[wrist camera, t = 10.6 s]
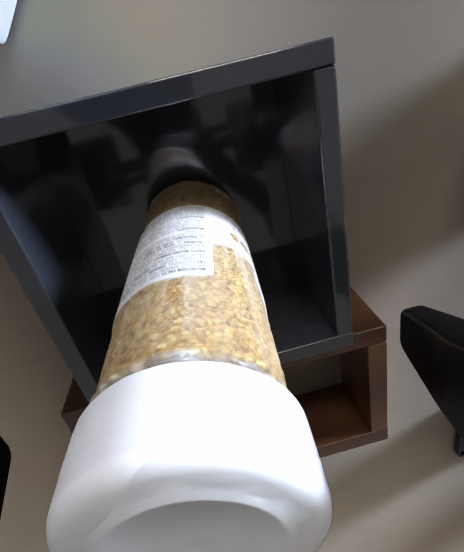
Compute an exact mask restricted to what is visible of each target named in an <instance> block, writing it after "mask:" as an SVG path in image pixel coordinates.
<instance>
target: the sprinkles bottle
mask: <svg viewBox="0 0 464 552" xmlns="http://www.w3.org/2000/svg"><path fill="white" fill-rule="evenodd" d="M144 228H145V230H144V232H143V233H142V235H141V237H140V240H139V243H138V246H137V249H136V252H135V255H134V258H133V261H132V264H131V267H130V271H129V274H128V277H127V280H126V283H125V287H124V290H123V293H122V297H121V300H120V303H119V306H118V310H117V313H116V316H115V320H114V323H113V327H112V338H111V341H110V345H109V348H108V351H107V354H106V358H105V361H104V365H103V368H102V371H101V376H100V380H99V383H98V386H97V391H96V393H95V394H94V395H93V397H92V398H91V399H90V404H89V405H88V406H87V408H86V409H85V410H84V412H83V413H82V415H81V416H80V417H79V419H78V422H77V424H76V426H75V429H74V431H73V434H72V437H71V440H70V443H69V446H68V449H67V452H66V455H65V459H64V462H63V465H62V468H61V471H60V474H59V478H58V481H57V485H56V488H55V491H54V495H53V498H52V502H51V505H50V509H49V512H48V516H47V521H46V538H47V545H48V549H49V551H50V552H317V550H318V549H319V548H320V546H321V545H322V543H323V542H324V540H325V538H326V536H327V533H328V531H329V528H330V525H331V519H332V509H333V508H332V501H331V494H330V491H329V487H328V484H327V481H326V477H325V474H324V471H323V467H322V464H321V461H320V457H319V454H318V451H317V448H316V445H315V441H314V438H313V435H312V432H311V429H310V426H309V423H308V420H307V418H306V415H305V413H304V410H303V409H302V407H301V405H300V404H299V402H298V401H297V399H296V398H295V397H294V396H293V395H292V393H291V392H290V391H289V390H288V389H287V386H286V381H285V377H284V372H283V370H282V368H281V364H280V360H279V357H278V354H277V350H276V346H275V343H274V339H273V335H272V332H271V329H270V324H269V321H268V316H267V310H266V306H265V301H264V297H263V294H262V291H261V288H260V284H259V281H258V277H257V274H256V271H255V267H254V264H253V260H252V257H251V254H250V250H249V247H248V244H247V240H246V238H245V236H244V234H243V232H242V220H241V217H240V213H239V211H238V209H237V206H236V205H235V203H234V202H233V201H232V199H231V198H230V197H229V196H228V195H227V194H226V192H224V191H222V190H221V189H219V188H218V187H216V186H214V185H211V184H207V183H204V182H199V181H182V182H179V183H177V184H174V185H171V186H169V187H167V188H166V189H164V190H162V191H161V192H160V193H159V194H158V195H157V196H156V197H155V198H154V199H153V200H152V202H151V204H150V207H149V209H148V211H147V213H146V217H145V223H144Z"/></svg>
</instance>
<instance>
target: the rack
mask: <svg viewBox="0 0 464 552" xmlns="http://www.w3.org/2000/svg"><path fill="white" fill-rule="evenodd" d="M350 296H351V311H352V327H353V337H354V345H351V346H348V347H344V348H340V349H337V350H333V351H330V352H326V353H322V354H319V355H315V356H311V357H308V358H304V359H300V360H297V361H293V362H289V363H286V364H282V365H281V368H282V370H283V369H287V368H291V367H294V366H298V365H301V364H305V363H309V362H312V361H316V360H320V359H323V358H327V357H331V356H334V355H338V354H340V355H341V367H342V378H343V384H339V385H335V386H332V387H328V388H325V389H321V390H317V391H314V392H310V393H307V394H303V395H299V396H296V397H295V398H296V399H297V401H298V402H299V404H300V405H301V407H302V409H303V410H304V413H305V415H306V418H307V420H308V423H309V426H310V429H311V432H312V435H313V438H314V441H315V445H316V448H317V451H318V454H319V457H320V458H321V457H325V456H328V455H332V454H335V453H339V452H342V451H346V450H349V449H353V448H356V447H360V446H363V445H367V444H370V443H374V442H377V441H381V440H384V439H387V438H388V432H387V343H386V325H385V324H384V323H383V322H382V321H381V320H380V319H379V318H378V316H377V315H376V314H375V313H374V312H373V311H372V310H371V309H370V308H369V306H368V305H367V304H366V303H365V302H364V301H363V300H362V299H361V298H360V297H359V295H358V294H357V293H356V292H355V291H354V290H353V289H352V288H351V287H350ZM89 404H90V403H89V402H88V401H87V399H86V397H85V395H84V394H83V392H82V390H81V389H80V387H79V385H78V383H77V382H76V380H75V378H74V377H73V380H72V383H71V386H70V389H69V392H68V395H67V398H66V401H65V404H64V407H63V410H62V413H61V416H62V418H63V419H64V421H65V422H66V424H67V425H68V427H69V428H70V431H71V432H72V434H73V431H74V429H75V426H76V424H77V422H78V419H79V417H80V416H81V415H82V413H83V412H84V410H85V409H86V408H87V406H88V405H89Z"/></svg>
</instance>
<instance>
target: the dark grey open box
mask: <svg viewBox="0 0 464 552" xmlns="http://www.w3.org/2000/svg"><path fill="white" fill-rule="evenodd" d="M334 64H335V48H334V38H333V37H329V38H324V39H320V40H316V41H312V42H308V43H304V44H300V45H296V46H292V47H288V48H284V49H280V50H275V51H271V52H267V53H263V54H259V55H255V56H251V57H247V58H243V59H239V60H235V61H231V62H227V63H222V64H218V65H214V66H210V67H206V68H202V69H198V70H194V71H190V72H186V73H182V74H178V75H174V76H169V77H165V78H161V79H157V80H153V81H149V82H145V83H141V84H137V85H133V86H129V87H125V88H120V89H116V90H112V91H108V92H104V93H100V94H96V95H92V96H88V97H84V98H80V99H76V100H72V101H67V102H63V103H59V104H55V105H51V106H47V107H43V108H39V109H35V110H31V111H27V112H23V113H18V114H14V115H10V116H6V117H2V118H0V251H1V253H2V254H3V256H4V258H5V260H6V261H7V263H8V265H9V266H10V268H11V270H12V272H13V273H14V275H15V277H16V278H17V280H18V282H19V284H20V285H21V287H22V289H23V290H24V292H25V294H26V296H27V297H28V299H29V301H30V303H31V304H32V306H33V308H34V309H35V311H36V313H37V315H38V316H39V318H40V320H41V321H42V323H43V325H44V327H45V328H46V330H47V332H48V334H49V335H50V337H51V339H52V340H53V342H54V344H55V346H56V347H57V349H58V351H59V352H60V354H61V356H62V358H63V359H64V361H65V363H66V365H67V366H68V368H69V370H70V371H71V373H72V375H73V377H74V378H75V380H76V382H77V383H78V385H79V387H80V389H81V390H82V392H83V394H84V395H85V397H86V399H87V401H88V402H89V403H90V399H91V398H92V397H93V395H94V394H95V393H96V391H97V386H98V383H99V380H100V376H101V371H102V368H103V365H104V361H105V358H106V354H107V351H108V348H109V345H110V341H111V338H112V327H113V323H114V320H115V316H116V313H117V310H118V306H119V303H120V300H121V297H122V293H123V290H124V287H125V283H126V280H127V277H128V274H129V271H130V267H131V264H132V261H133V258H134V255H135V252H136V249H137V246H138V243H139V240H140V237H141V235H142V233H143V232H144V230H145V228H144V223H145V217H146V213H147V211H148V209H149V207H150V204H151V202H152V200H153V199H154V198H155V197H156V196H157V195H158V194H159V193H160V192H161V191H162V190H164V189H166V188H167V187H169V186H171V185H174V184H177V183H179V182H182V181H199V182H204V183H207V184H211V185H214V186H216V187H218V188H219V189H221V190H222V191H224V192H226V194H227V195H228V196H229V197H230V198H231V199H232V201H233V202H234V203H235V205H236V206H237V209H238V211H239V213H240V217H241V220H242V232H243V234H244V236H245V238H246V240H247V244H248V247H249V250H250V254H251V257H252V260H253V264H254V267H255V271H256V274H257V277H258V281H259V284H260V288H261V291H262V294H263V297H264V301H265V306H266V310H267V316H268V321H269V324H270V329H271V332H272V335H273V339H274V343H275V346H276V350H277V354H278V357H279V360H280V364H281V365H282V364H286V363H289V362H293V361H297V360H300V359H304V358H308V357H311V356H315V355H319V354H322V353H326V352H330V351H333V350H337V349H340V348H344V347H348V346H351V345H354V337H353V327H352V311H351V296H350V281H349V265H348V250H347V235H346V219H345V204H344V189H343V173H342V158H341V143H340V127H339V112H338V97H337V81H336V67H335V65H334Z"/></svg>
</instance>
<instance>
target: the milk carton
mask: <svg viewBox="0 0 464 552" xmlns="http://www.w3.org/2000/svg"><path fill="white" fill-rule="evenodd" d="M16 3H17V0H0V44H4V43H5V42H6V40H7V37H8V34H9V30H10V27H11V23H12V19H13V15H14V11H15V7H16Z"/></svg>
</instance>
